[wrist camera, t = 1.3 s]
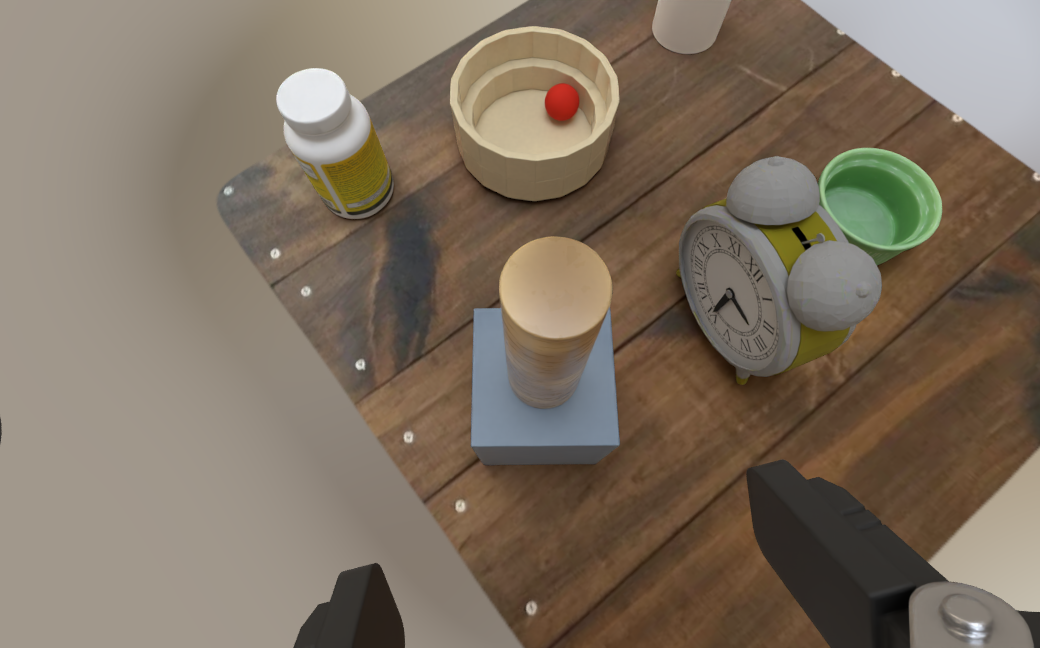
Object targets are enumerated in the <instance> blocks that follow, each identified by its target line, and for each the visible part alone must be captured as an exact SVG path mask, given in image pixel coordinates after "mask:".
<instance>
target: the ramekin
mask: <svg viewBox="0 0 1040 648" xmlns="http://www.w3.org/2000/svg"><path fill="white" fill-rule="evenodd" d="M817 184H818V186H819V193H820V202H819V205H820V206H821V207H823V208H824V209H825V210H826V211H827V212H828V213H829V215H830V216H831V217H832V218H833V220H834V221H835V222H836V223H837V225H838V226H839V227H840V229H841V231H842V232H843V234H844V236H845V237H846V239H847V240H848V242H849V243H850V244H853V245H855V246H857V247H859V248H860V249H861V250H863V251H865V252H866V253H867V254H868V255H869V256H871V257H872V258H873V260H874V262H875V264H876V265H879V264H881V263H884V262H886V261H888V260H889V259H891V258H893V257H895V256H896V255H898V254H900V253H901V252H903V251H905V250H908V249H911V248H913V247H916V246H918V245H919V244H921V243H923V242H924V241H926V240H927V239H928V238H929V237H930V236H931V235H932V234H933V233H934V232H935V231H936V229H937V227H938V225H939V223H940V220H941V216H942V202H941V198H940V195H939V192H938V190H937V188H936V186H935V184H934V183H933V181H932V180H931V178H930V177H929V176H928V175H927V174H926V173H925V172H924V171H923V170H922V169H921V168H920V167H919V166H918V165H916V164H915V163H913V162H912V161H910V160H909V159H907V158H905V157H903V156H901V155H899V154H896V153H893V152H891V151H887V150H883V149H876V148H858V149H853V150H850V151H847V152H844V153H842V154H840V155H838V156H837V157H835V158H834V159H833V160H832V161H830V162H829V164H828V165H827V166H826V167H825V169H824V170H823V172H822V174H821V176H820V178H819V181H818V183H817Z"/></svg>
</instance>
